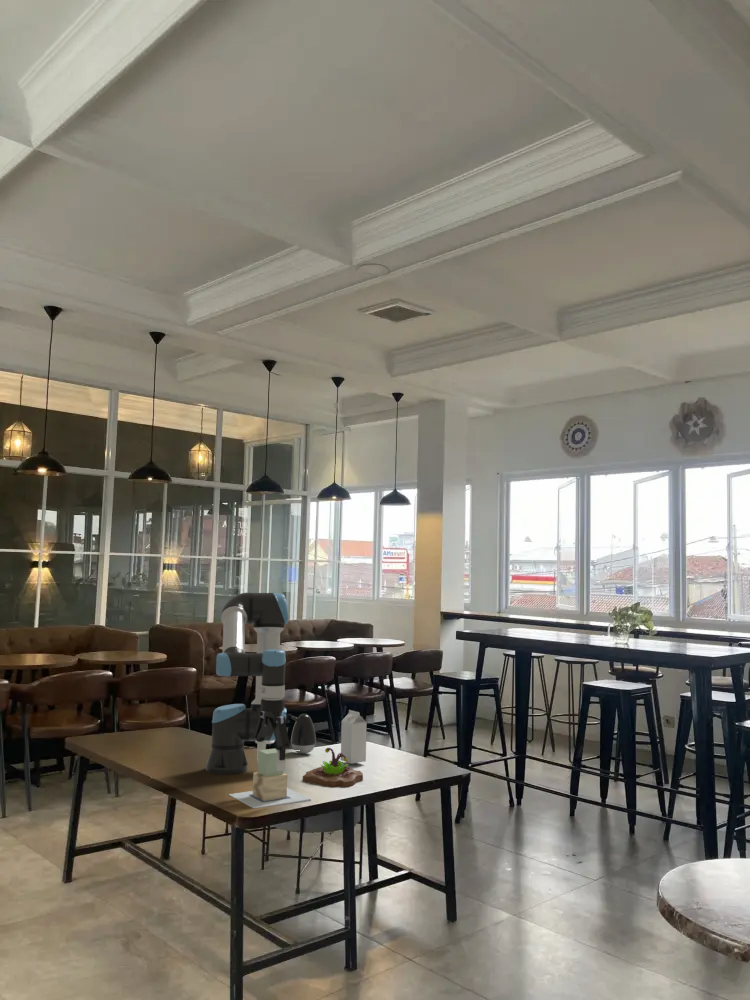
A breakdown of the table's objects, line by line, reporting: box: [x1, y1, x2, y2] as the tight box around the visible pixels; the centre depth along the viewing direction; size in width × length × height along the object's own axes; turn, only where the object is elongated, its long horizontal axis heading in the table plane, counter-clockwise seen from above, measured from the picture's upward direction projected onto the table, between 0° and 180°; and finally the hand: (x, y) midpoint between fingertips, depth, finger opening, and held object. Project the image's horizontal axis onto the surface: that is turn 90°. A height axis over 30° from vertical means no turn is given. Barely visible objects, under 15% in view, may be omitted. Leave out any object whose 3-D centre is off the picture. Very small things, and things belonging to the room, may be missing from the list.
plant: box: [302, 747, 364, 788], centre depth 285 cm, size 20×20×11 cm
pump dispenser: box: [290, 713, 317, 754], centre depth 329 cm, size 10×10×15 cm
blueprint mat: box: [228, 787, 312, 809], centre depth 257 cm, size 18×20×1 cm
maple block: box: [252, 771, 288, 801], centre depth 258 cm, size 8×8×7 cm
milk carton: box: [340, 709, 367, 764], centre depth 315 cm, size 7×7×19 cm
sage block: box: [257, 748, 284, 777], centre depth 258 cm, size 6×6×7 cm
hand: (270, 766), depth 258 cm, fingers open, 13 cm apart
